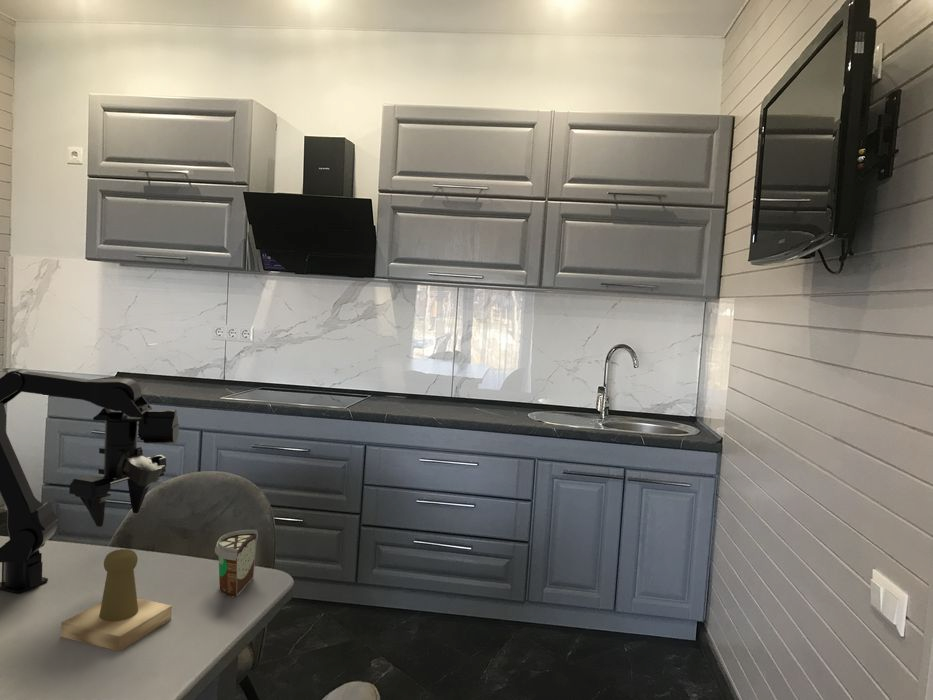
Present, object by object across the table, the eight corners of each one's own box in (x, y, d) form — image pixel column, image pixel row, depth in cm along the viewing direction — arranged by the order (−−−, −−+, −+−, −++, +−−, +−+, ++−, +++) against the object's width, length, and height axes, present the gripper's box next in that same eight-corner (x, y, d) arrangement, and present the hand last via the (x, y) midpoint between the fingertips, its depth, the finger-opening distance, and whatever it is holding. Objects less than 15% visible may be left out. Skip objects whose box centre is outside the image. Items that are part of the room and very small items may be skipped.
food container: (227, 572, 140) (229, 526, 139) (256, 574, 139) (258, 529, 139) (202, 597, 127) (204, 547, 127) (233, 600, 127) (236, 550, 127)
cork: (106, 624, 110) (109, 561, 109) (93, 612, 114) (95, 550, 113) (144, 614, 114) (146, 552, 114) (130, 602, 118) (132, 542, 118)
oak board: (61, 636, 110) (61, 622, 110) (117, 606, 121) (117, 593, 121) (119, 651, 107) (119, 636, 107) (171, 619, 118) (171, 605, 118)
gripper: (117, 456, 118) (114, 540, 119) (187, 439, 136) (184, 512, 137) (68, 449, 121) (65, 531, 122) (143, 433, 139) (140, 504, 140)
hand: (118, 519), depth 130 cm, fingers open, 9 cm apart
